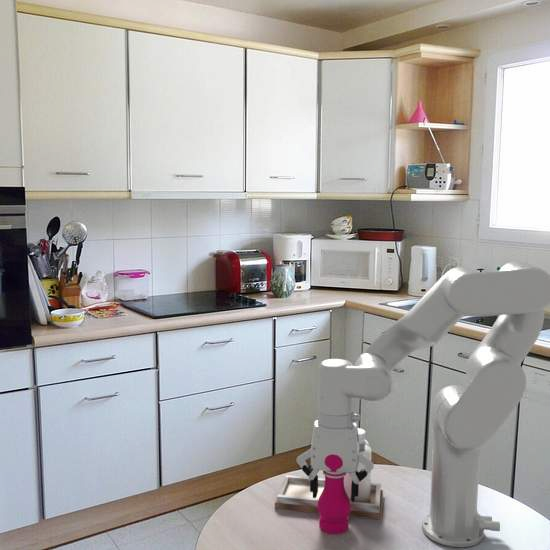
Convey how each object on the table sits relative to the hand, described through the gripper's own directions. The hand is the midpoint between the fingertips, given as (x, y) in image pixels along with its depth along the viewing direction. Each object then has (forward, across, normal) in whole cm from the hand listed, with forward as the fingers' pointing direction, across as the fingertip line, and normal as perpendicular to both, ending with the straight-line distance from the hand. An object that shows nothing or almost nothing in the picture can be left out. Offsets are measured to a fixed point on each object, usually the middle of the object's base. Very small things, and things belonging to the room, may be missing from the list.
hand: (334, 496), depth 135 cm
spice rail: (+7, +2, -10) cm, 13 cm away
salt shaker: (+5, -4, -10) cm, 12 cm away
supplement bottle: (+7, -3, -23) cm, 24 cm away
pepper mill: (+7, 0, 0) cm, 7 cm away
